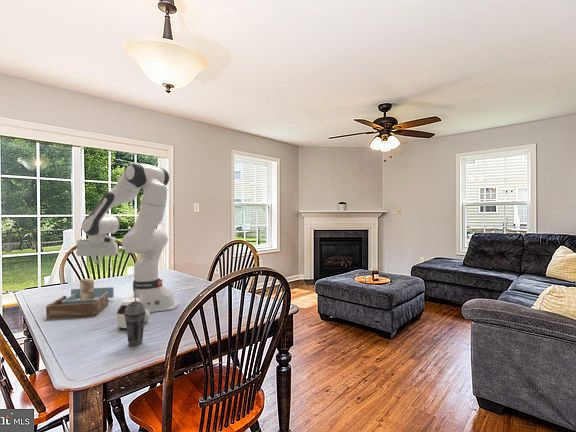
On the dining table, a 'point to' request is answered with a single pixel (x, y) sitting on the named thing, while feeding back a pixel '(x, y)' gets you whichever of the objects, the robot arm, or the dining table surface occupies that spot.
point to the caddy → (75, 308)
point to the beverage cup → (135, 322)
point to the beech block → (86, 289)
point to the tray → (97, 294)
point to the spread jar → (120, 314)
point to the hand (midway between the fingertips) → (97, 263)
